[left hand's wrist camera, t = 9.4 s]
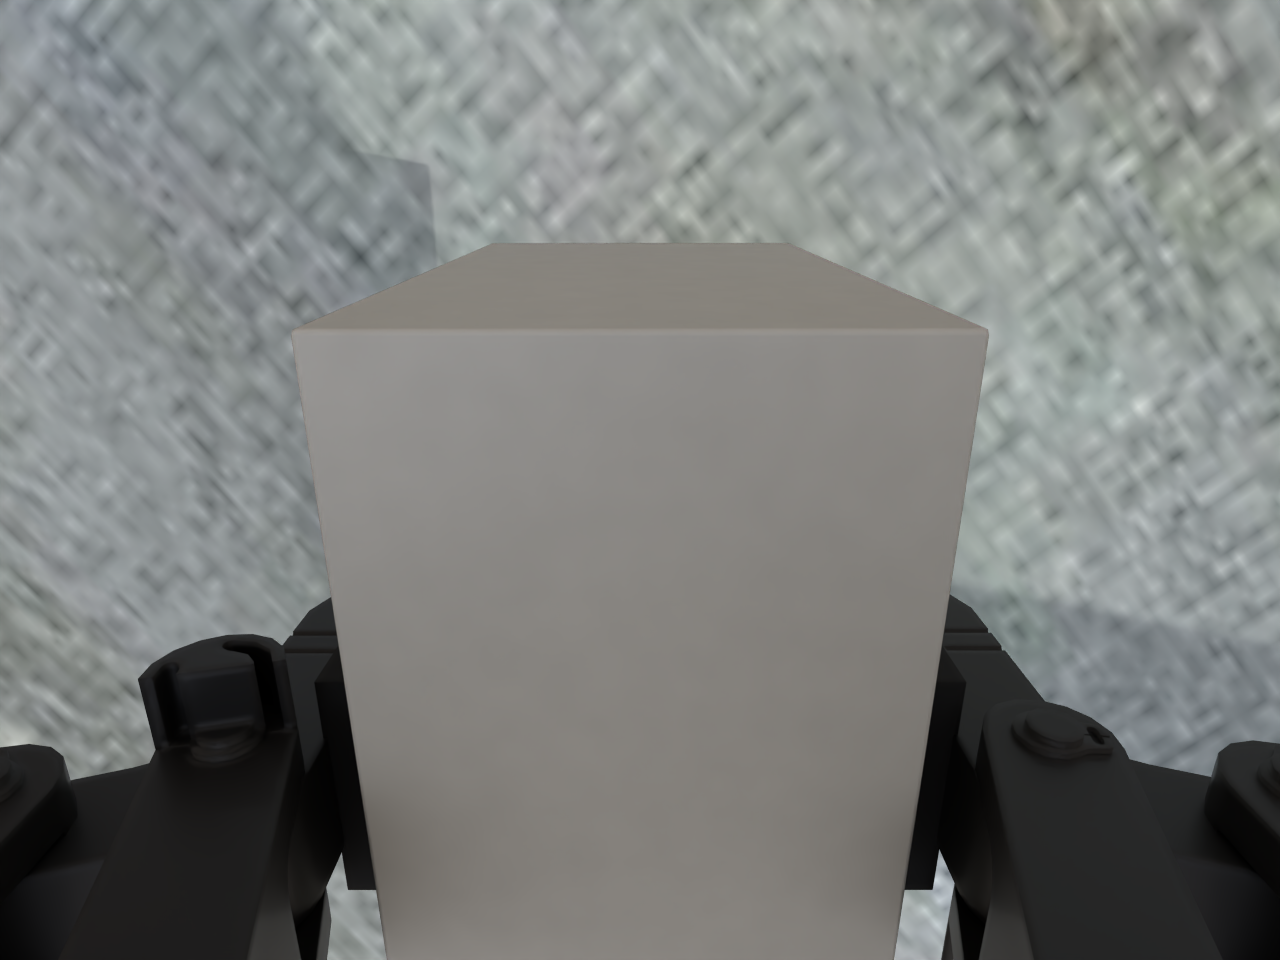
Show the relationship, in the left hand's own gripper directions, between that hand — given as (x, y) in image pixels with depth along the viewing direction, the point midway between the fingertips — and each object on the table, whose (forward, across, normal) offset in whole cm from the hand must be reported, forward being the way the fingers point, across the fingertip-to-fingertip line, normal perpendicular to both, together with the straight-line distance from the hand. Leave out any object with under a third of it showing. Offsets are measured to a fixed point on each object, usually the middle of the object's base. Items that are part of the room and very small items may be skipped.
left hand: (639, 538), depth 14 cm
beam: (+1, 0, -29) cm, 29 cm away
